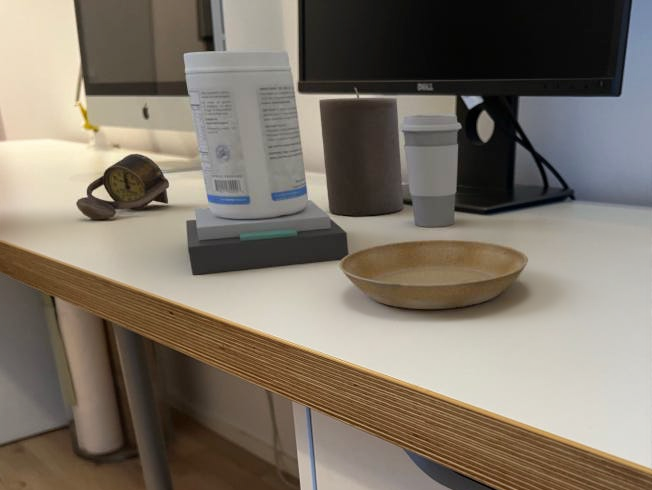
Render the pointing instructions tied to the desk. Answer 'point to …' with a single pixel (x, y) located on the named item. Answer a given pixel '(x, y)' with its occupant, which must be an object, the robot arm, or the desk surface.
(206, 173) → the supplement tub
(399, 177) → the pillar candle
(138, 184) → the antique desk clock
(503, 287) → the plant saucer
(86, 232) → the desk surface
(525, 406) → the desk surface
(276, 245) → the scale
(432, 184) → the cup
